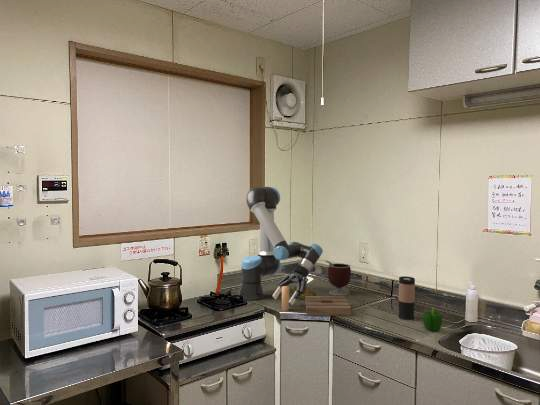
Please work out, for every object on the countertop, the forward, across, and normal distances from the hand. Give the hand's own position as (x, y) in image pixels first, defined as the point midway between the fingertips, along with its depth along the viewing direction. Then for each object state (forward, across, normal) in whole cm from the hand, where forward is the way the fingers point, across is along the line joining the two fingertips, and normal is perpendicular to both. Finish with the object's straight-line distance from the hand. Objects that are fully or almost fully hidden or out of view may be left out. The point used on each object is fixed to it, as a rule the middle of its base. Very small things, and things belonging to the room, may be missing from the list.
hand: (282, 300), depth 219 cm
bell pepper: (-21, -64, -29) cm, 74 cm away
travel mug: (-25, -47, -33) cm, 63 cm away
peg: (+2, 0, -5) cm, 6 cm away
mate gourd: (-32, +7, -39) cm, 51 cm away
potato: (-13, +9, -21) cm, 26 cm away
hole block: (-11, -13, -18) cm, 25 cm away
